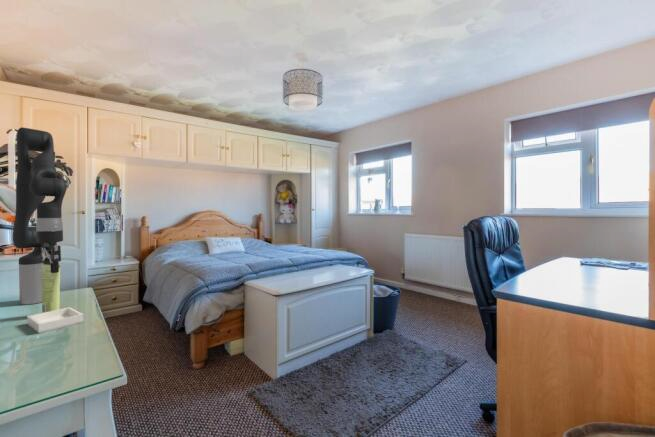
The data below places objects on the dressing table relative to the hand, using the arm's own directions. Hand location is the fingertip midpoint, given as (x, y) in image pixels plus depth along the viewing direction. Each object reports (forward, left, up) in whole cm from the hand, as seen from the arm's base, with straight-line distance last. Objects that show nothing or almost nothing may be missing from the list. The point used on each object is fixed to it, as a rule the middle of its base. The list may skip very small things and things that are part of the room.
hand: (51, 271), depth 117 cm
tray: (+13, -2, -17) cm, 21 cm away
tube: (0, 0, -17) cm, 17 cm away
